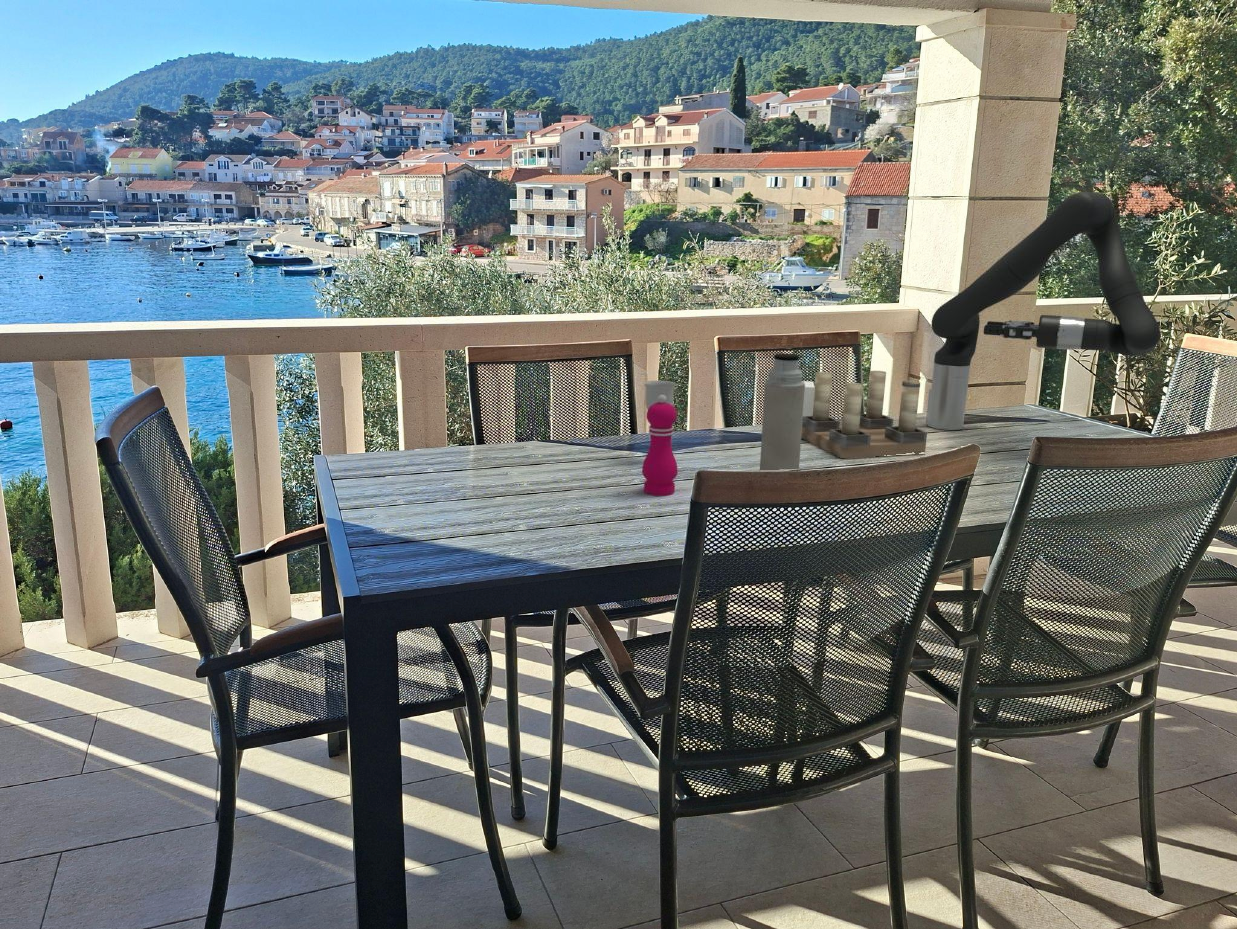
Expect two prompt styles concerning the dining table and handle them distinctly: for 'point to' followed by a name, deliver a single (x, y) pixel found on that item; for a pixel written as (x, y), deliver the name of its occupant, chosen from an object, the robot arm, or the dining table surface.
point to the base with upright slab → (808, 398)
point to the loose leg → (908, 406)
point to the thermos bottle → (782, 415)
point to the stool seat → (857, 422)
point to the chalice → (659, 391)
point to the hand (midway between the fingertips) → (985, 327)
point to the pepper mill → (660, 450)
